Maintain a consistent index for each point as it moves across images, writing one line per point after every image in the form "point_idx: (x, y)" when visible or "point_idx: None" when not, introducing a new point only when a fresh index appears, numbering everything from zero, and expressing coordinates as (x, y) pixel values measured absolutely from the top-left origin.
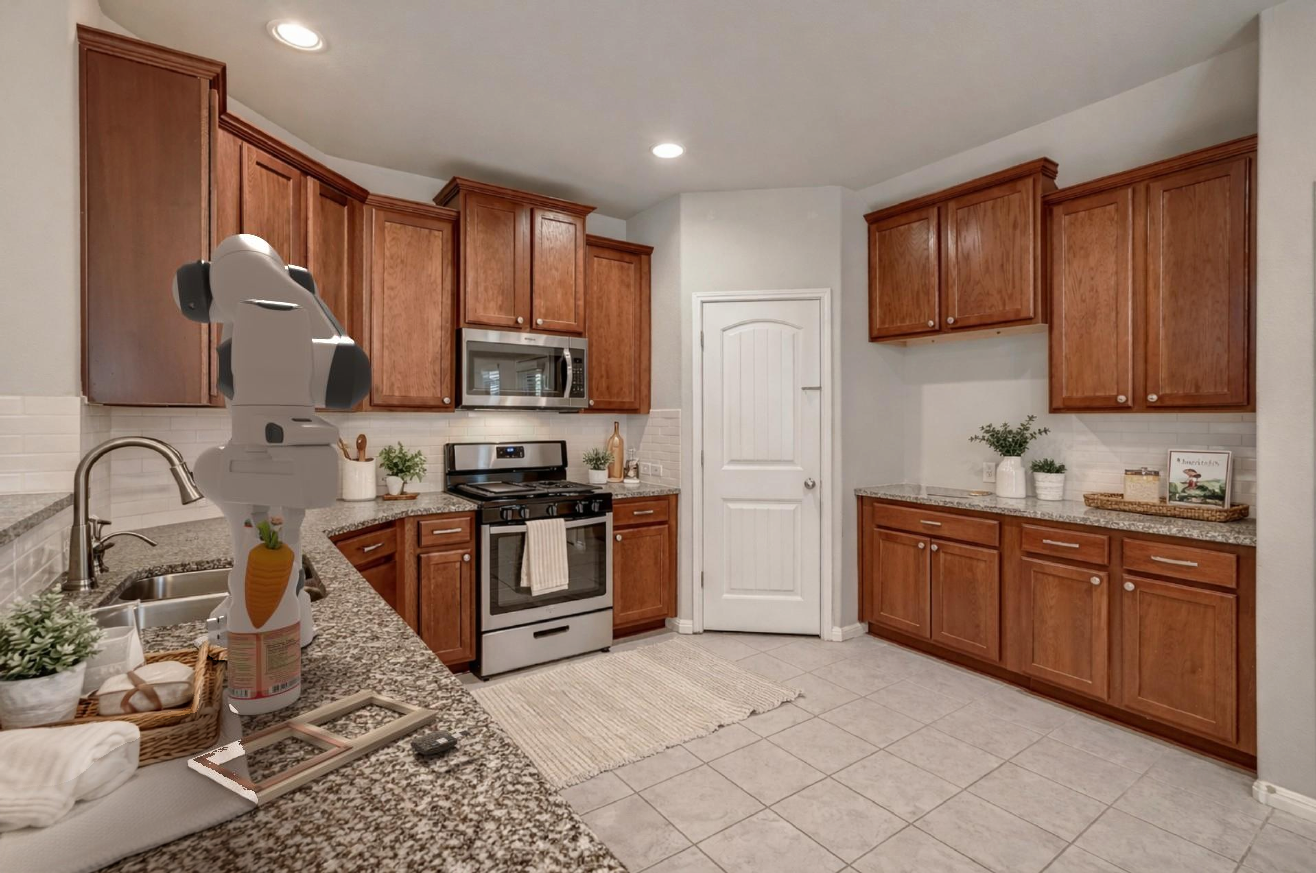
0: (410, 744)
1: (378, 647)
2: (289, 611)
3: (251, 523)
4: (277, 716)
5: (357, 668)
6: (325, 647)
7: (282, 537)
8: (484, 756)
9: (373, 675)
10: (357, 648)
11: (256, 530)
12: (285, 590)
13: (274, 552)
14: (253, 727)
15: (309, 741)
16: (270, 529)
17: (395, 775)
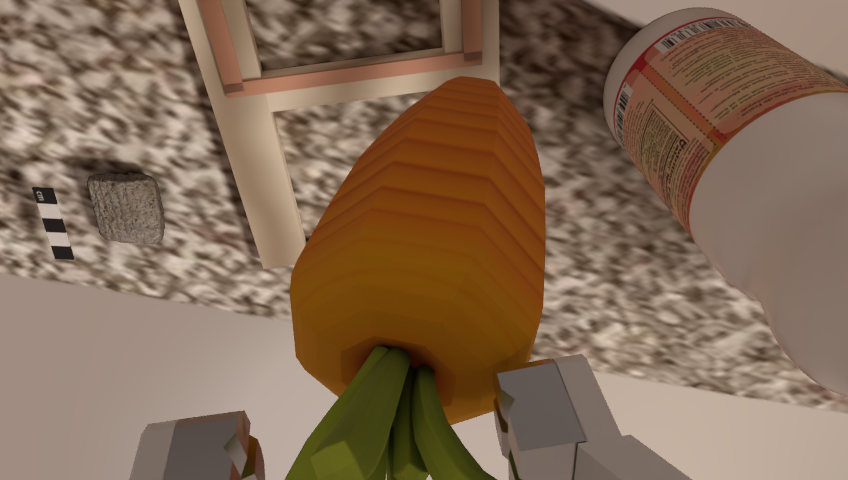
0: (148, 176)
1: (708, 339)
2: (713, 251)
3: (648, 453)
4: (575, 69)
5: (649, 273)
6: None
7: (162, 456)
8: (32, 241)
9: (583, 277)
10: (748, 314)
11: (559, 418)
12: (762, 292)
13: (316, 341)
14: (569, 8)
15: (370, 58)
16: (512, 476)
17: (70, 104)
